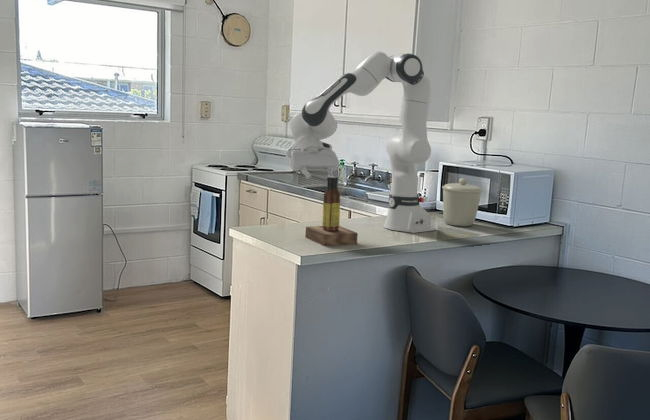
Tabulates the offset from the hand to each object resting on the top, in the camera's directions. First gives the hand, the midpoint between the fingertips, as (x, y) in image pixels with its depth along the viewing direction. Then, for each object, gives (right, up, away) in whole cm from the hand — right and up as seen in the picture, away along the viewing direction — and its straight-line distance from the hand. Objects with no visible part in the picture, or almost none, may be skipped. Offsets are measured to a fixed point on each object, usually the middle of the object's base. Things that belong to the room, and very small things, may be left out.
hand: (320, 177), depth 244 cm
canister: (+62, -19, +46) cm, 79 cm away
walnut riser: (+4, -23, -6) cm, 24 cm away
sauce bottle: (+4, -20, -7) cm, 21 cm away
